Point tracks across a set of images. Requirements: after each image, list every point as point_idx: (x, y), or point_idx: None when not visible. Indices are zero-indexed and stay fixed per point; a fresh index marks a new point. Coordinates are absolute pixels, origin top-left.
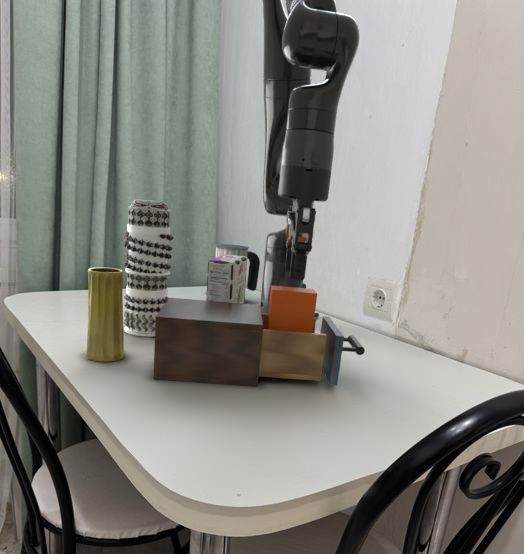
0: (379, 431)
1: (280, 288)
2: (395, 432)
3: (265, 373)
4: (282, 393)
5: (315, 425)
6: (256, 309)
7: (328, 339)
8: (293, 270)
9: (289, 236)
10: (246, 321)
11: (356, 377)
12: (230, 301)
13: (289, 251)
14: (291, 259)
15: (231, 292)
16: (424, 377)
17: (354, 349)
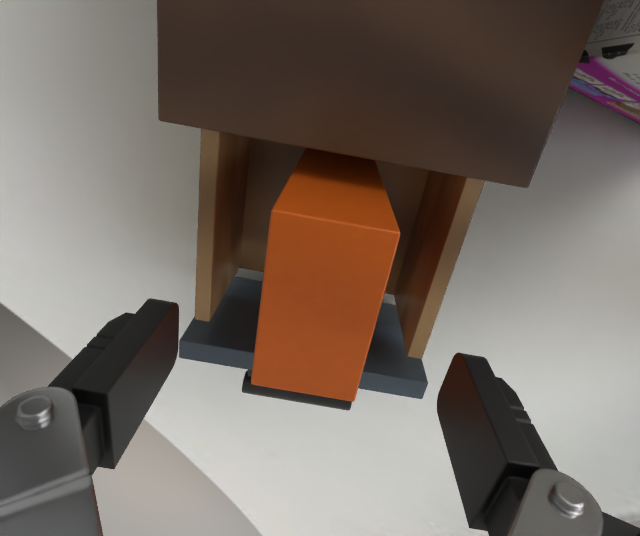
0: (45, 286)
1: (318, 260)
2: (49, 310)
3: None
4: (191, 159)
5: (36, 182)
6: (433, 151)
7: None
8: (118, 331)
9: (39, 499)
10: (196, 55)
11: None
12: (637, 49)
13: (493, 457)
14: (113, 363)
15: None
16: (319, 463)
17: (248, 371)
